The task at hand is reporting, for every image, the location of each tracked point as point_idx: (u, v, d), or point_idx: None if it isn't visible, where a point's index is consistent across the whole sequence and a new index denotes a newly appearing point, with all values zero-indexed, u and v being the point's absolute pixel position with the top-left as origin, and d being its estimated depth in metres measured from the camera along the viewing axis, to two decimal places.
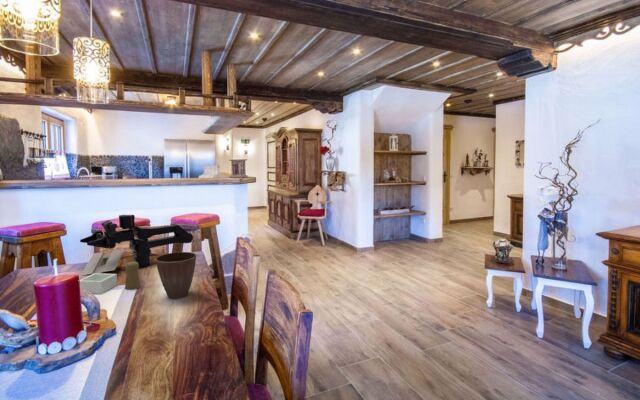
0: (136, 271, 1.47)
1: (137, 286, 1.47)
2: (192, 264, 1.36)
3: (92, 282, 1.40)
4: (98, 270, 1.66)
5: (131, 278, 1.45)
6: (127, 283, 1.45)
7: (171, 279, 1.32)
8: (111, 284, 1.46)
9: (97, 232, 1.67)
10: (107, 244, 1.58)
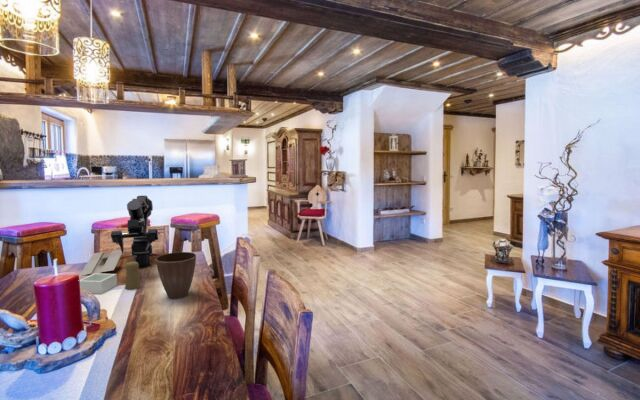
0: (136, 271, 1.47)
1: (137, 286, 1.47)
2: (192, 264, 1.36)
3: (92, 282, 1.40)
4: (97, 270, 1.66)
5: (131, 278, 1.45)
6: (127, 283, 1.45)
7: (171, 279, 1.32)
8: (111, 284, 1.46)
9: (119, 234, 1.54)
10: (154, 238, 1.61)
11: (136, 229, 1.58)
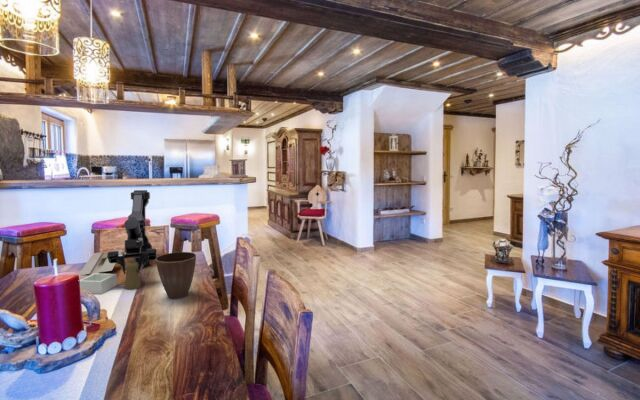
0: (136, 271, 1.47)
1: (137, 286, 1.47)
2: (192, 264, 1.36)
3: (92, 282, 1.40)
4: (96, 270, 1.66)
5: (131, 278, 1.45)
6: (127, 283, 1.45)
7: (171, 279, 1.32)
8: (111, 284, 1.46)
9: (116, 255, 1.46)
10: (148, 258, 1.53)
11: (134, 249, 1.50)
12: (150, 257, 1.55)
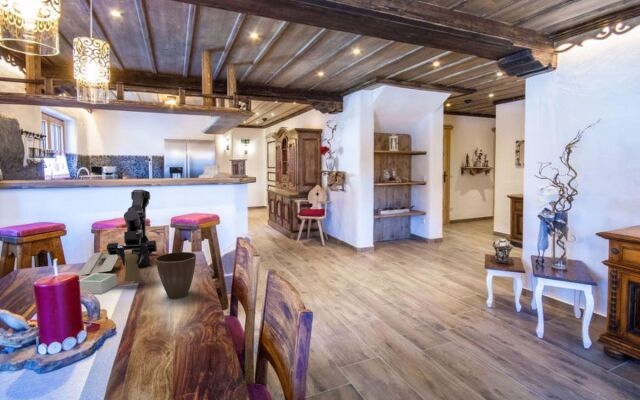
0: (136, 263, 1.46)
1: (137, 278, 1.46)
2: (192, 264, 1.36)
3: (92, 282, 1.40)
4: (95, 270, 1.66)
5: (131, 270, 1.45)
6: (127, 275, 1.45)
7: (171, 279, 1.32)
8: (111, 284, 1.46)
9: (116, 246, 1.46)
10: (148, 250, 1.52)
11: (133, 241, 1.49)
12: (150, 249, 1.54)
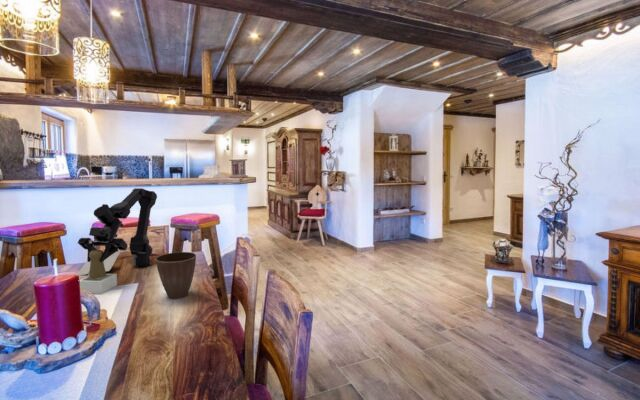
0: (99, 260, 1.43)
1: (99, 275, 1.43)
2: (192, 264, 1.36)
3: (92, 282, 1.40)
4: None
5: (93, 267, 1.42)
6: (90, 271, 1.43)
7: (171, 279, 1.32)
8: (111, 284, 1.46)
9: (85, 242, 1.46)
10: (116, 248, 1.48)
11: (102, 237, 1.47)
12: (120, 247, 1.50)
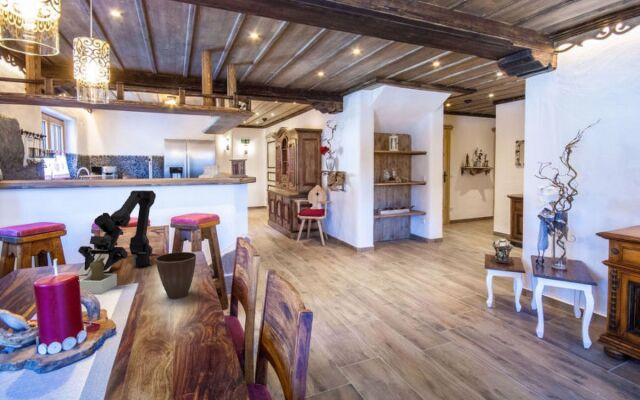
0: (99, 271, 1.44)
1: None
2: (192, 264, 1.36)
3: (92, 282, 1.40)
4: None
5: (94, 278, 1.43)
6: None
7: (171, 279, 1.32)
8: (111, 284, 1.46)
9: (86, 250, 1.46)
10: (119, 257, 1.48)
11: (102, 246, 1.47)
12: None
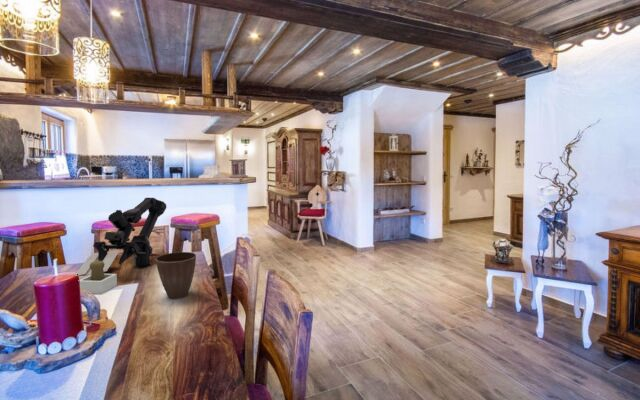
0: (99, 271, 1.44)
1: None
2: (192, 264, 1.36)
3: (92, 282, 1.40)
4: None
5: (94, 278, 1.43)
6: None
7: (171, 279, 1.32)
8: (111, 284, 1.46)
9: (100, 245, 1.55)
10: (133, 251, 1.57)
11: (116, 241, 1.56)
12: None
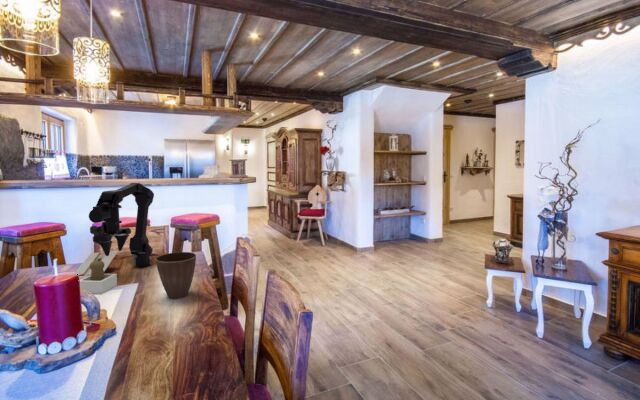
0: (99, 271, 1.44)
1: None
2: (192, 264, 1.36)
3: (92, 282, 1.40)
4: (90, 270, 1.65)
5: (94, 278, 1.43)
6: None
7: (171, 279, 1.32)
8: (111, 284, 1.46)
9: None
10: (103, 242, 1.48)
11: None
12: None
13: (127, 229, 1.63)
